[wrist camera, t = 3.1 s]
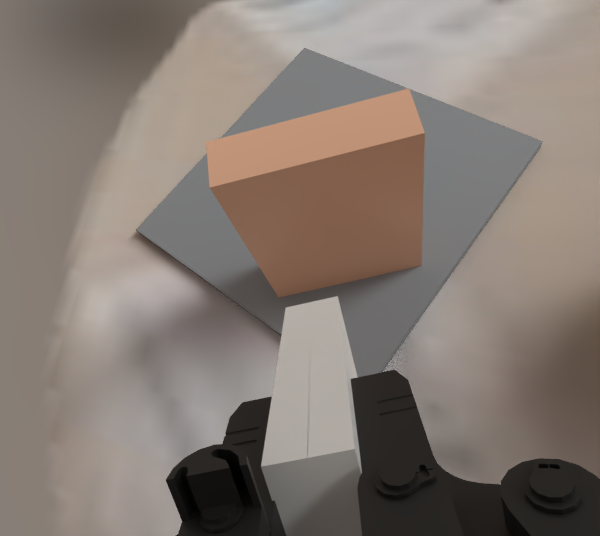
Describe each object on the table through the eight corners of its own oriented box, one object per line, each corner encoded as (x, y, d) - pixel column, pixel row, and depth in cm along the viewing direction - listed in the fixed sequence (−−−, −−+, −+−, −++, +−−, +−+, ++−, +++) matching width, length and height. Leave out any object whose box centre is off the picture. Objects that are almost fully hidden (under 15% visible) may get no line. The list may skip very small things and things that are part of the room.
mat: (305, 53, 41) (304, 47, 41) (540, 147, 33) (542, 141, 32) (140, 233, 37) (136, 229, 36) (364, 395, 28) (364, 393, 28)
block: (273, 259, 33) (205, 137, 22) (410, 227, 32) (407, 83, 21) (278, 297, 31) (209, 187, 21) (421, 265, 30) (424, 132, 20)
